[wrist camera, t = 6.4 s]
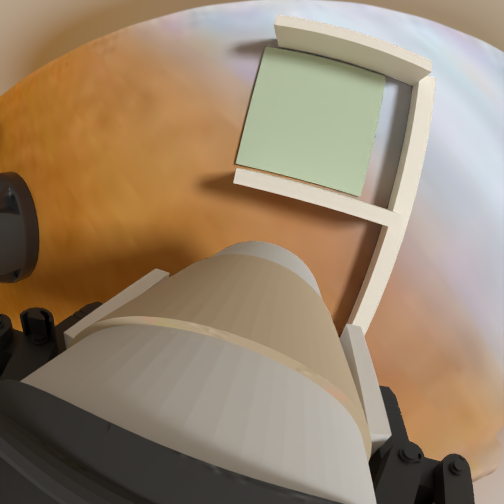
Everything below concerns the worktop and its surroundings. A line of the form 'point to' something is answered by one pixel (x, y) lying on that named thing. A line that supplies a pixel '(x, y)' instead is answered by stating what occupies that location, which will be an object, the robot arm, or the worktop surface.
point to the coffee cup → (195, 398)
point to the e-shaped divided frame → (412, 156)
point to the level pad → (312, 120)
